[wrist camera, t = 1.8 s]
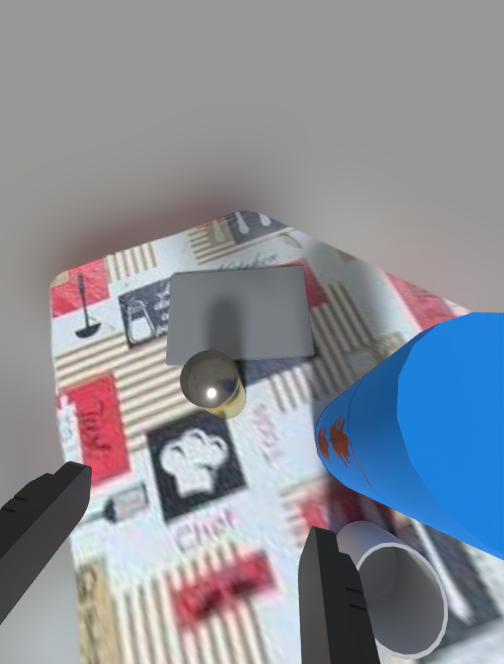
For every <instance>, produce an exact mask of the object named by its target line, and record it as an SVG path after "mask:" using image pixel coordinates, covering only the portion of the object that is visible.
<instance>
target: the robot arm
mask: <svg viewBox="0 0 504 664" xmlns="http://www.w3.org/2000/svg"><path fill="white" fill-rule="evenodd" d="M91 474H92V468H91V467H90V466H87V465H83V464H80V463H76V462H72V461H69V462H67V463H65V464H64V465H63V466H62V467H61V468H60V469H59V470H58V471H57V472H56V473H55V474H54V475H53V474H49V473H46V474H44V475H42V476H40V477H39V478H37V479H35V480H33V481H31V482H29V483H28V484H27V485H26V486H25V487H24V488H22V489H21V490H20V491H19V492H18V493H17V494H16V495H15V496H14V498H13V499H10V500H9V501H8V502H7V503H6V504H5V505H4V506H2V508H1V510H0V625H1V623H2V622H3V621H4V619H5V618H6V617H7V615H8V614H9V613H10V611H11V610H12V609H13V607H14V606H15V605H16V603H17V602H18V601H19V600H20V598H21V597H22V596H23V594H24V593H25V592H26V590H27V589H28V588H29V586H30V585H31V584H32V583H33V581H34V580H35V579H36V577H37V576H38V575H39V573H40V572H41V571H42V569H43V568H44V567H45V566H46V564H47V563H48V562H49V560H50V559H51V558H52V556H53V555H54V554H55V552H56V551H57V550H58V549H59V547H60V546H61V544H62V543H63V542H64V541H65V539H66V538H67V537H68V535H69V534H70V533H71V532H72V530H73V529H74V528H75V526H76V525H77V524H78V522H79V521H80V520H81V518H82V517H83V515H84V513H85V511H86V509H87V507H88V504H89V500H90V488H91ZM298 590H299V612H300V635H301V658H302V664H381V663H380V659H379V654H378V650H377V646H376V642H375V638H374V633H373V629H372V625H371V621H370V616H369V613H368V611H367V610H368V608H367V604H366V600H365V596H364V591H363V587H362V583H361V578H360V574H359V572H358V570H357V568H356V566H355V564H354V563H353V561H352V559H351V557H350V555H349V554H345V553H341V552H339V548H338V543H337V538H336V534H335V532H334V531H330V530H326V529H322V528H319V527H315V526H312V527H311V529H310V532H309V535H308V537H307V540H306V543H305V546H304V549H303V552H302V555H301V558H300V562H299V569H298Z"/></svg>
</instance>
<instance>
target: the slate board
mask: <svg viewBox="0 0 504 664" xmlns="http://www.w3.org/2000/svg"><path fill="white" fill-rule="evenodd" d="M205 350H217V351H220V352H223V353H225V354H226V355H228V356H229V357H230V358H231V359H232V360H233V361H246V360H261V359H277V358H293V357H308V356H314V354H315V353H314V345H313V338H312V331H311V323H310V316H309V309H308V301H307V294H306V287H305V279H304V272H303V265H301V266H288V267H274V268H261V269H247V270H234V271H220V272H207V273H193V274H180V275H171V291H170V306H169V322H168V338H167V353H166V364H167V365H183V364H185V363H186V362H187V361H188V360H189V359H190V358H191V357H192V356H193V355H195V354H197V353H199V352H201V351H205Z"/></svg>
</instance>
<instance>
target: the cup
mask: <svg viewBox="0 0 504 664" xmlns="http://www.w3.org/2000/svg"><path fill="white" fill-rule="evenodd" d="M336 538H337V543H338V548H339V552H341V553H345V554H349V555H350V557H351V559H352V561H353V563H354V564H355V566H356V568H357V570H358V572H359V574H360V578H361V583H362V587H363V591H364V596H365V600H366V604H367V608H368V610H367V611H368V613H369V616H370V621H371V625H372V629H373V633H374V638H375V642H376V646H377V650H378V654H379V659H380V663H381V664H391V661H392V657H393V656H395V657H398V658H402V659H418V658H421V657H423V656H425V655H427V654H430V653H431V652H432V651H433V650H434V649H435V648H436V647H437V646H438V645H439V643H440V641H441V639H442V637H443V635H444V633H445V629H446V624H447V620H448V610H447V600H446V596H445V592H444V588H443V585H442V583H441V581H440V579H439V577H438V575H437V573H436V572H435V570H434V569H433V567H432V566H431V565H430V563H429V562H428V561H427V560H426V559H425V558H424V557H423V556H421V555H420V554H419V553H418V552H417V551H415V550H414V549H412V548H411V547H410V546H408V545H407V544H405V543H404V542H402V541H401V540H399V539H398V538H396V537H395V536H394V535H392V534H391V533H389V532H388V531H386V530H385V529H383V528H382V527H380V526H378V525H376V524H374V523H372V522H367V521H354V522H351V523H349V524H347V525H345V526H344V527H343V528H342V529H340V531H339V532H338V534H337V535H336Z"/></svg>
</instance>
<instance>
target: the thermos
mask: <svg viewBox="0 0 504 664" xmlns="http://www.w3.org/2000/svg"><path fill="white" fill-rule="evenodd" d="M315 442H316V447H317V452H318V456H319V457H320V459H321V461H322V463H323V465H324V466H325V468H326V470H327V471H328V472H330V473H331V474H332V475H333V476H334V477H335V478H336V479H337V480H338V481H339V482H341V483H342V484H343V485H344V486H346V487H348V488H350V489H352V490H354V491H356V492H358V493H360V494H363V495H365V496H367V497H369V498H371V499H373V500H375V501H377V502H380V503H382V504H384V505H386V506H388V507H390V508H392V509H394V510H396V511H399V512H401V513H403V514H405V515H407V516H409V517H411V518H413V519H416V520H418V521H420V522H422V523H424V524H426V525H428V526H430V527H432V528H435V529H437V530H439V531H441V532H443V533H445V534H447V535H449V536H452V537H454V538H456V539H458V540H460V541H462V542H465V543H467V544H469V545H471V546H473V547H476V548H478V549H480V550H482V551H484V552H487V553H489V554H491V555H493V556H495V557H498V558H500V559H502V560H504V313H480V312H473V313H470V314H467V315H464V316H460V317H457V318H454V319H451V320H448V321H445V322H442V323H439V324H437V325H435V326H433V327H431V328H429V329H427V330H425V331H423V332H420V333H419V334H418V335H416V336H415V337H414V338H413V339H411V340H410V341H409V342H407V343H406V344H405V345H404V346H402V347H401V348H400V349H399V350H397V351H396V352H395V353H393V354H392V355H391V356H390V357H388V358H387V359H386V360H385V361H383V362H382V363H381V364H379V365H378V366H377V367H376V368H374V369H373V370H372V371H370V372H369V373H368V374H367V375H365V376H364V377H363V378H362V379H360V380H359V381H358V382H356V383H355V384H354V385H353V386H351V387H350V388H349V389H348V390H346V391H345V392H344V393H342V394H341V395H340V396H339V397H338V398H336V399H335V400H334V401H333V402H331V403H330V404H329V405H328V406H327V407H326V409H325V410H324V411H323V413H322V415H321V417H320V419H319V421H318V422H317V427H316V434H315Z"/></svg>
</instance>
